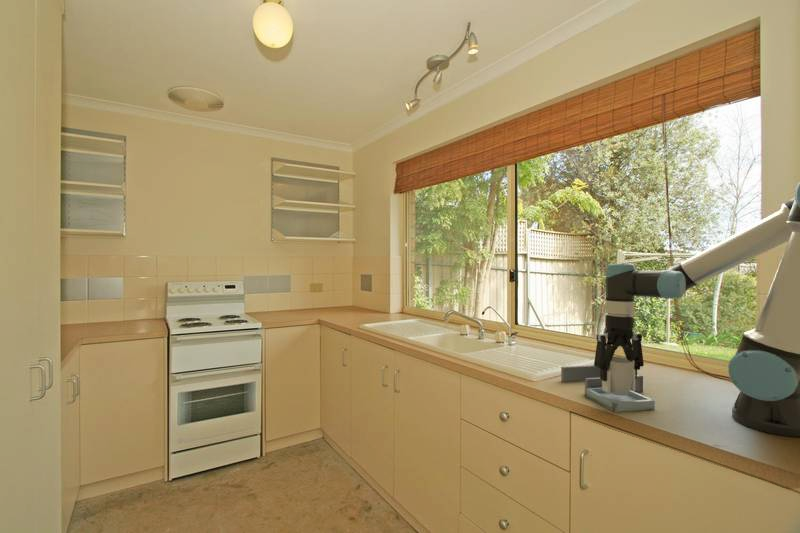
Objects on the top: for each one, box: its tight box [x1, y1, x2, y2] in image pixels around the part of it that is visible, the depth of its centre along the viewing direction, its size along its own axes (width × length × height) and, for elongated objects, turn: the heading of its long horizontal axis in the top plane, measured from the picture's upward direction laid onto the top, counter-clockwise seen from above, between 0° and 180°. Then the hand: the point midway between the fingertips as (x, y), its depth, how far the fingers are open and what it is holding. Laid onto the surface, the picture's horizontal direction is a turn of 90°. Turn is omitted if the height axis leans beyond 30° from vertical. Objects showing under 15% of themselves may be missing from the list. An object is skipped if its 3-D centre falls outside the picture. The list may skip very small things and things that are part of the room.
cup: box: [604, 355, 635, 396], centre depth 117 cm, size 8×8×10 cm
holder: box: [560, 364, 644, 393], centre depth 133 cm, size 14×20×5 cm
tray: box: [584, 387, 656, 413], centre depth 117 cm, size 13×13×2 cm
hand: (618, 390), depth 117 cm, fingers closed on cup, 8 cm apart
